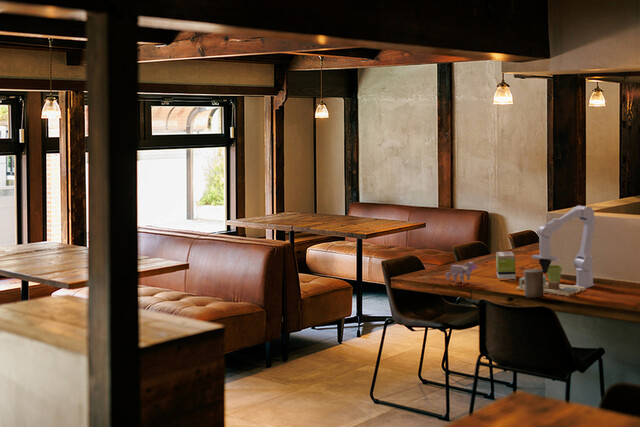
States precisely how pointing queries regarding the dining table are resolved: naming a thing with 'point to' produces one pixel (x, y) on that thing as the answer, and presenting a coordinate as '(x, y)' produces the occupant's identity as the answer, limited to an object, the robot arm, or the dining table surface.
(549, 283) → the walnut block
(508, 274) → the tea box
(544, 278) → the sled cover
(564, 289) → the slate pad
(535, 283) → the pillar candle
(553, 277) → the plant pot
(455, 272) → the toy sheep
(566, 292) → the puzzle board
